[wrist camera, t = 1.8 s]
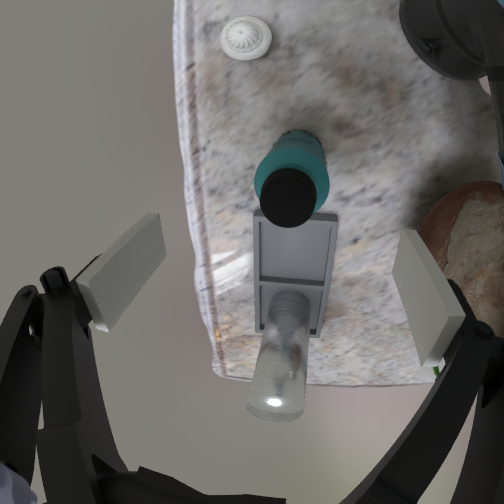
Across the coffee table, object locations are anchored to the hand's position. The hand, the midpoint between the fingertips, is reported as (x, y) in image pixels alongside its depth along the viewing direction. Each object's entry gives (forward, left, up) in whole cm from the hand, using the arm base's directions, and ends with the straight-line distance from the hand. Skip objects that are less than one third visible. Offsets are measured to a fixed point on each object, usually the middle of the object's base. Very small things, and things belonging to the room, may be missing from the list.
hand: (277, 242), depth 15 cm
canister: (0, +25, -24) cm, 35 cm away
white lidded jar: (+6, -15, -25) cm, 30 cm away
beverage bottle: (0, 0, -25) cm, 25 cm away
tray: (0, +20, -25) cm, 32 cm away
